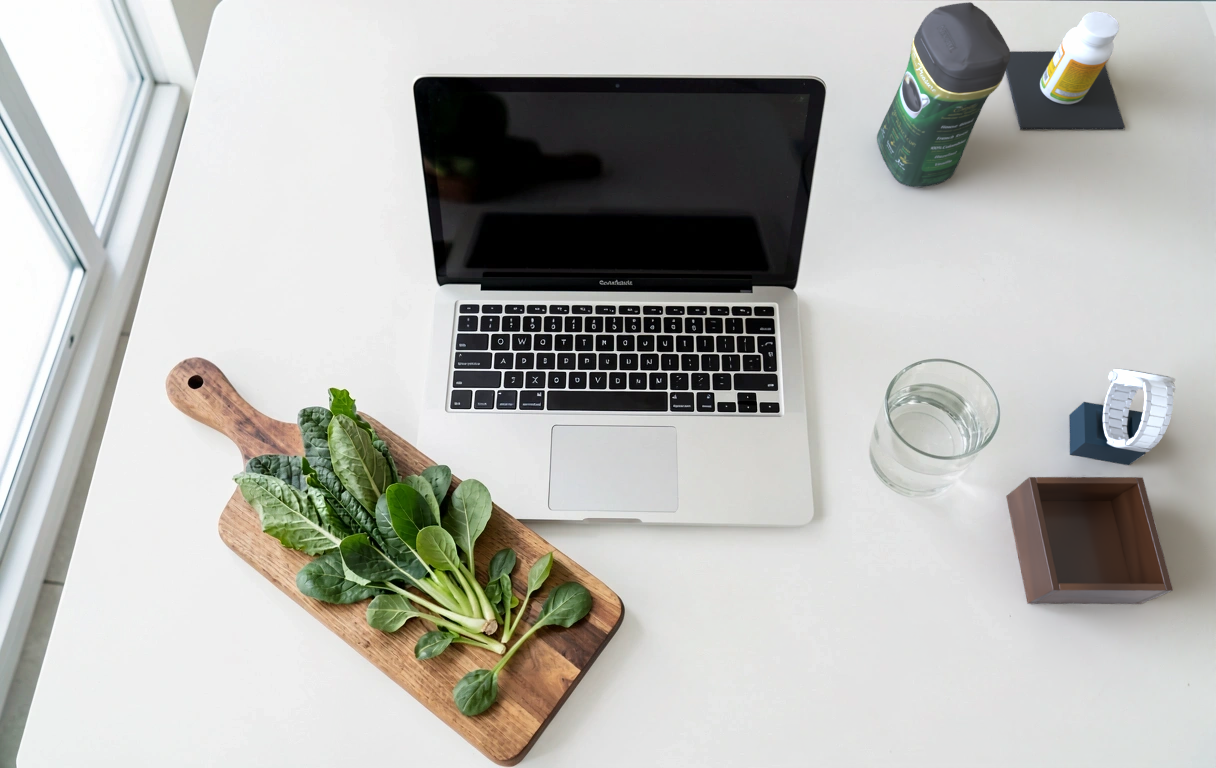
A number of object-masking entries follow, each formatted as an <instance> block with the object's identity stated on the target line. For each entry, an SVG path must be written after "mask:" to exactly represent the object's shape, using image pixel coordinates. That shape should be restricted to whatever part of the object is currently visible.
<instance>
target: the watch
mask: <svg viewBox="0 0 1216 768" xmlns="http://www.w3.org/2000/svg"><path fill="white" fill-rule="evenodd" d="M1108 380H1109V383H1111V384H1110V386H1109V388H1108V390H1107V394H1106V395H1105V399H1104V404H1099V403H1093V402H1088V401H1083V402H1082V403H1081V404H1080V405H1079V406H1078V407H1076V408H1075V409H1074V410H1073V411H1072V412H1071V413H1070V414H1069V416H1068V417H1069V419H1068V420H1069V421H1068V422H1069V456H1074V457H1075V456H1076V457H1081V458H1087V459H1092V460H1097V461H1102V462H1108V463H1114V464H1118V465H1124V466H1131V464H1133V463H1134V462H1136V461H1137V460H1139V459H1140V458H1142V457H1143V456H1144V455H1146V453H1147V452H1151V451H1152V449H1153V448H1155V447H1156V446H1157V445H1158V444H1159V443H1160V441H1161V440H1162V439H1163V437H1164V435H1165V433H1166V431H1167V429H1168V426H1169V425H1170V422H1171V418H1172V414H1173V410H1174V393H1176V385H1175V382H1176V378H1174V377H1171V376H1168V375H1164V374H1158V373H1154V372H1147V371H1140V370H1133V369H1126V368H1113V371H1110V372H1109V373H1108ZM1138 390H1143V398H1144V399H1143V400H1144V401H1143V411H1138V410H1133V409H1130V408H1131V405H1132V403H1133V400H1134V397H1135V395H1136V394H1137V392H1138Z"/></svg>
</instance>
